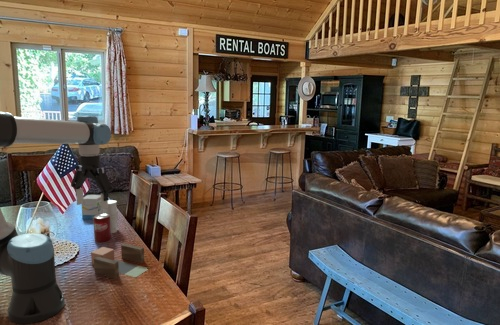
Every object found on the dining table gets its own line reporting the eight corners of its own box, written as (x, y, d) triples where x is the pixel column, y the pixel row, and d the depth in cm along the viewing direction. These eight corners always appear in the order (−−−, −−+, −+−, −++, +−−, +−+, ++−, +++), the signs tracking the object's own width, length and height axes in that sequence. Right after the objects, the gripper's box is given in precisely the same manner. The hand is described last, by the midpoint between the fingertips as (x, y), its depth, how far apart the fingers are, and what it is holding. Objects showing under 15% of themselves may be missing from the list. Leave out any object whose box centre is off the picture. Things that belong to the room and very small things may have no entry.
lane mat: (135, 277, 135) (135, 277, 135) (87, 265, 144) (87, 264, 144) (149, 268, 142) (149, 268, 142) (103, 257, 151) (103, 256, 151)
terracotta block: (103, 267, 142) (102, 255, 141) (91, 264, 145) (90, 252, 144) (114, 261, 148) (113, 249, 147) (103, 258, 150) (102, 246, 149)
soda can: (105, 244, 164) (104, 219, 162) (91, 243, 166) (89, 218, 164) (114, 238, 171) (113, 214, 169) (100, 237, 173) (99, 213, 171)
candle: (120, 231, 180) (118, 202, 177) (105, 234, 176) (103, 204, 173) (116, 227, 186) (115, 199, 183) (102, 230, 182) (100, 201, 179)
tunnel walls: (115, 279, 133) (114, 263, 132) (94, 273, 137) (93, 258, 136) (144, 261, 148) (143, 247, 147) (125, 257, 152) (124, 243, 151)
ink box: (97, 219, 197) (96, 198, 195) (82, 219, 198) (80, 198, 195) (104, 214, 206) (102, 194, 204) (89, 214, 206) (87, 194, 204)
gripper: (120, 155, 144) (122, 207, 147) (75, 151, 154) (78, 200, 157) (105, 158, 137) (108, 212, 141) (59, 153, 147) (62, 204, 151)
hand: (92, 206), depth 149 cm, fingers open, 13 cm apart
